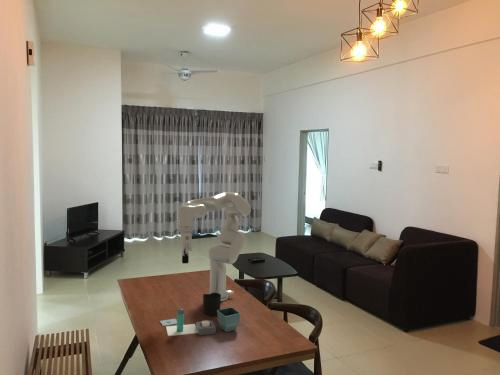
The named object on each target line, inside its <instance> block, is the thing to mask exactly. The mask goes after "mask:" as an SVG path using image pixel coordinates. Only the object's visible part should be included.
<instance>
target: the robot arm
mask: <svg viewBox="0 0 500 375" xmlns="http://www.w3.org/2000/svg"><path fill="white" fill-rule="evenodd" d="M223 208H224V212H225V223H224V225H223V227H222V230H221V231H220V234H219V236H218V239H217V240H218V242H219V243H220V244H214V245H212V246H210V248H209V250H208V259H209V267H210V268H209V294H211V293H214V292H215V293H219V294H221V302H224V301H227V300H228V299H229V295H234V293H235V292H234V290H227V289H226V288H227V265H226V264H229V265H233V264H234V263H236V261H237V260H238V257H239V255H240V254H241V251H242V249H243V247H244V244H245V235H244V233H243V232H241V231H239V228H240V221H239V218H238V217H248V216H250V213H251V211H252V208H251V204H250V203H249V201H247V200H246V199H245V198H244V197H243V196H242V195H241V194H240V193H237V192H231V191H230V192H229V191H221V192H220V193H216V194H214V195H212V196H207V197H202V198H195V199H191V200H189V201H185V203H184V204H181V205H179V208H178V232H179V233H180V249H181V252H182V253H181V254H182V255H181V262H182V264H189V257H190V256H189V254H190V253H189V251H190V252H191V251H193V240H192V239H193V238H192V236H193V235H192V233H193V232H194V219H203V218H204V217H205V216H206V215H207V213H209V212H216V211H218V210H221V209H223Z"/></svg>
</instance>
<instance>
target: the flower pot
mask: <svg viewBox="0 0 500 375" xmlns="http://www.w3.org/2000/svg"><path fill="white" fill-rule="evenodd" d="M241 314H242V313H241V312H240V311H238V310H237V309H236V308H234V307H232V306H231V307H227V308H220V310H217V316H216V317H217V321H218V324H219V327H220V328H221V329H222V330H223V331H224V332H225V333H228V332H232V331H235V330H236V329H237V328H238V326H239V324H240V321H241V320H240V319H241Z"/></svg>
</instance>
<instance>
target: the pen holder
mask: <svg viewBox="0 0 500 375" xmlns="http://www.w3.org/2000/svg"><path fill="white" fill-rule="evenodd" d="M202 296H203V297H202V306H203V314H204V315H205V316H207V317H218V316H217V310H221V302H222V301H221V294H219V293H215V292H214V293H211V294H210V293H204V294H203V295H202Z"/></svg>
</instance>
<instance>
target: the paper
mask: <svg viewBox="0 0 500 375" xmlns="http://www.w3.org/2000/svg"><path fill="white" fill-rule="evenodd" d="M165 328H166V329H165V330H166V332H167V336H168V337H173V336H174V337H175V336H182V335H185V336H186V335H193V334H198V331H197V329H196V323H192V324H190V323H189V324H184V327H183V331H181V332H178V331H177V325H168V326H165Z"/></svg>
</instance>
